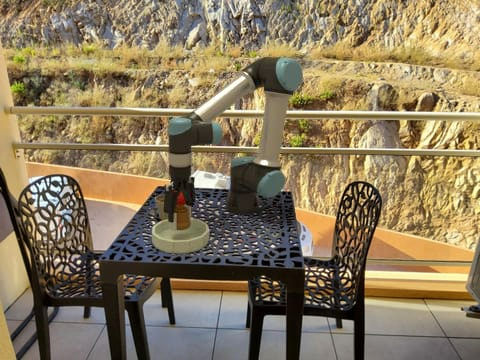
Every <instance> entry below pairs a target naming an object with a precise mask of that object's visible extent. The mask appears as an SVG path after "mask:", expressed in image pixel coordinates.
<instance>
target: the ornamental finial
mask: <svg viewBox="0 0 480 360" xmlns="http://www.w3.org/2000/svg"><path fill="white" fill-rule="evenodd" d="M175 213H176V225H177V230H186V229H188V228H189V227H190V225H191V222H190V220H189V217H188V209H187V208H186V207H184V206H183V205H176V209H175Z"/></svg>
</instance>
